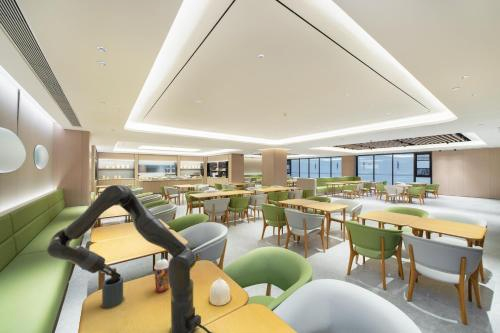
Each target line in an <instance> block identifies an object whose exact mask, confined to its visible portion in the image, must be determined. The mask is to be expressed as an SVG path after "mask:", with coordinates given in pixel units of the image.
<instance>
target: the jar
mask: <svg viewBox="0 0 500 333" xmlns="http://www.w3.org/2000/svg"><path fill="white" fill-rule="evenodd" d="M101 290H102V291H101V294H102V295H101V302H102V303H101V305H102V308H104V309H111V308H114V307H117V306H119V305H120V304H122V303H123V301H124V277H122V276H120V278H119V279H117V278H116V283H115V284H111V277H109V278H107V279H105V280H104V281H103V282H102V283H101Z"/></svg>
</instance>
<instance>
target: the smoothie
mask: <svg viewBox="0 0 500 333" xmlns="http://www.w3.org/2000/svg"><path fill="white" fill-rule="evenodd" d="M169 262H170V261H169V260H168V259H166V258H164V254H161V258H159V259H158V260H157V261H156V263H155V264H154V267H153V268H154V269H153V270H154V282H155V283H154V284H155V291H156V292H157V293H165V292H166V291H167V290H168V288H169V287H170V285H169V273H168V267H169Z"/></svg>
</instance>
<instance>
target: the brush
mask: <svg viewBox="0 0 500 333" xmlns="http://www.w3.org/2000/svg"><path fill="white" fill-rule="evenodd" d="M113 270H114V271H116V272H117V267H113ZM110 278H111V284H115V283H116V278H115V277H111V276H110Z"/></svg>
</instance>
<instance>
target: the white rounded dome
mask: <svg viewBox="0 0 500 333" xmlns="http://www.w3.org/2000/svg"><path fill="white" fill-rule="evenodd" d="M230 301H231V289H230V286H229V284H228V282H227V281H226V280H224V279H223V278H221V276H219V277H218V278H217V279H216V280H214V281H213V283H212V284H211V286H210V289H209V303H211V305H213V306H223V305H226V304H228V303H229V302H230Z"/></svg>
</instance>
